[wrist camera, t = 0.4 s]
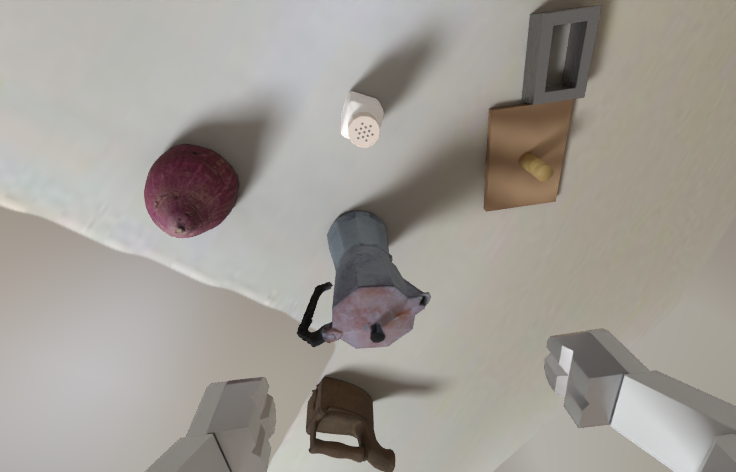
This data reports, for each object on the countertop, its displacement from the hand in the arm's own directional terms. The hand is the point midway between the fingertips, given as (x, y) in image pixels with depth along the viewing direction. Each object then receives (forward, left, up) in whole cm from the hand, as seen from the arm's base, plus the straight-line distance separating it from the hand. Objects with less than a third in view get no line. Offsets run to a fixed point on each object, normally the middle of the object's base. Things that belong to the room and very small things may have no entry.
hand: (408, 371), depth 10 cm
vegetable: (+7, -22, -38) cm, 44 cm away
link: (-2, +23, -38) cm, 45 cm away
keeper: (+10, +21, -38) cm, 45 cm away
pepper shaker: (+1, 0, -38) cm, 38 cm away
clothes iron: (+56, -10, -38) cm, 68 cm away
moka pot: (+19, -3, -38) cm, 43 cm away
